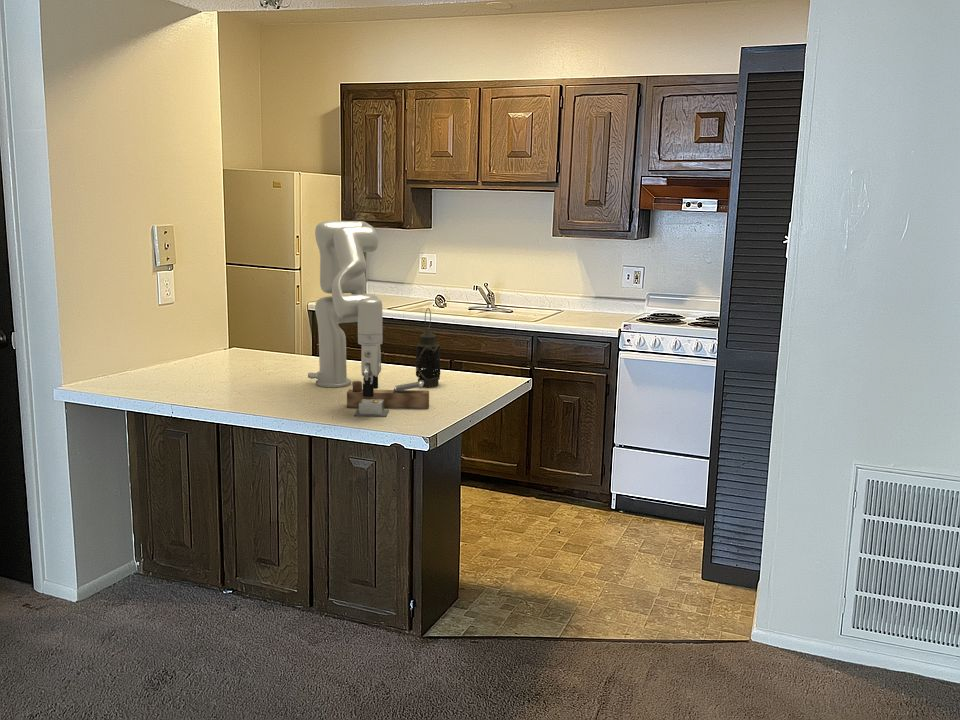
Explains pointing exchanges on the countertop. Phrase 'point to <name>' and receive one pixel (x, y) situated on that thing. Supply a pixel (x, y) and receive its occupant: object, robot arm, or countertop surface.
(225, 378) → the countertop surface
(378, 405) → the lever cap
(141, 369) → the countertop surface
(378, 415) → the mat
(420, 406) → the plane body
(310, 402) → the countertop surface
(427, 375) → the lantern
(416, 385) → the lever
